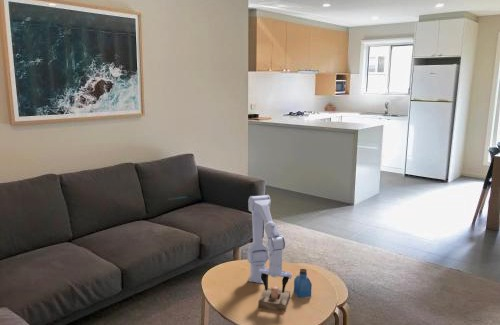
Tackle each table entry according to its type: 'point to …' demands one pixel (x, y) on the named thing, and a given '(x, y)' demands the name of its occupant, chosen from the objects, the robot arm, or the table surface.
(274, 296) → the peg
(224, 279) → the table surface
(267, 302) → the socket
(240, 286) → the table surface
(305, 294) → the perfume bottle
